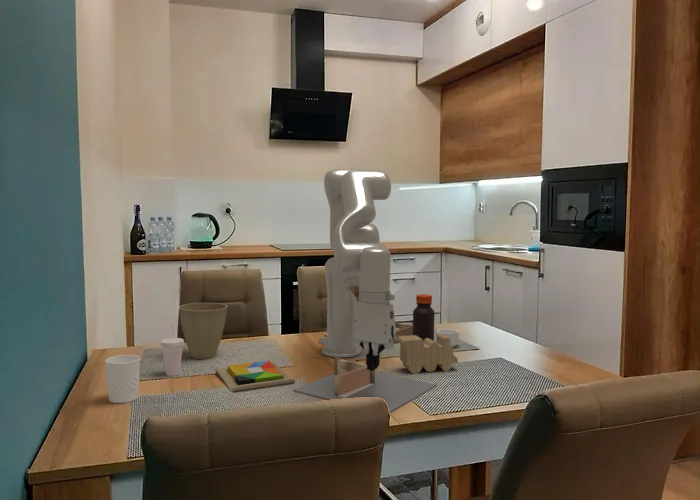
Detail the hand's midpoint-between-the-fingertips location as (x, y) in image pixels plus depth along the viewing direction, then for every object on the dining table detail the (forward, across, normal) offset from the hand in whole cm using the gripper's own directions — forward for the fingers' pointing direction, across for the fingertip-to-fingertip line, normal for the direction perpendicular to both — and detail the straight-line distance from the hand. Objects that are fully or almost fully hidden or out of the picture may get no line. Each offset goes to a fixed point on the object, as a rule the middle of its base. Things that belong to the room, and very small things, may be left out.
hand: (372, 368), depth 139 cm
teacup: (+10, -1, -60) cm, 60 cm away
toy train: (+8, -5, -29) cm, 30 cm away
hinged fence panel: (+7, +6, -1) cm, 9 cm away
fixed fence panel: (+7, +10, -10) cm, 16 cm away
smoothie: (+9, +57, +10) cm, 59 cm away
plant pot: (+10, +63, -9) cm, 64 cm away
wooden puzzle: (+9, +35, +2) cm, 36 cm away
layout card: (+8, +4, -5) cm, 10 cm away
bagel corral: (+10, +22, -61) cm, 66 cm away
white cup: (+8, +53, +31) cm, 62 cm away
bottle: (+9, +1, -41) cm, 42 cm away
